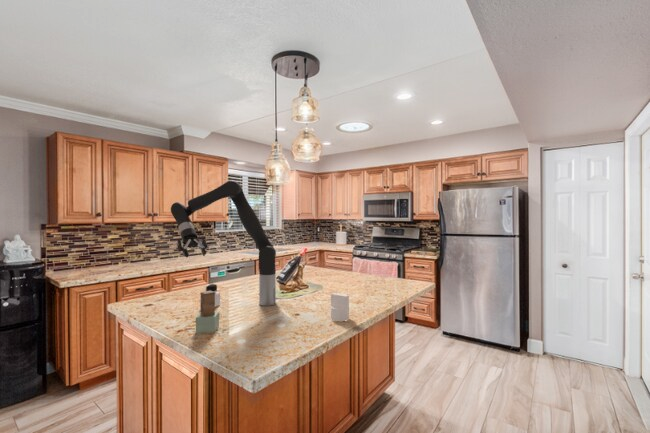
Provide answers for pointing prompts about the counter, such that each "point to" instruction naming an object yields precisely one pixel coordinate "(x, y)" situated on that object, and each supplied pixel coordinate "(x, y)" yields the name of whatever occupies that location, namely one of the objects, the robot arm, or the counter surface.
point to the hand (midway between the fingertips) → (196, 255)
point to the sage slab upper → (207, 319)
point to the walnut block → (207, 303)
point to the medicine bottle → (217, 294)
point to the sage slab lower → (207, 328)
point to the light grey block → (339, 307)
